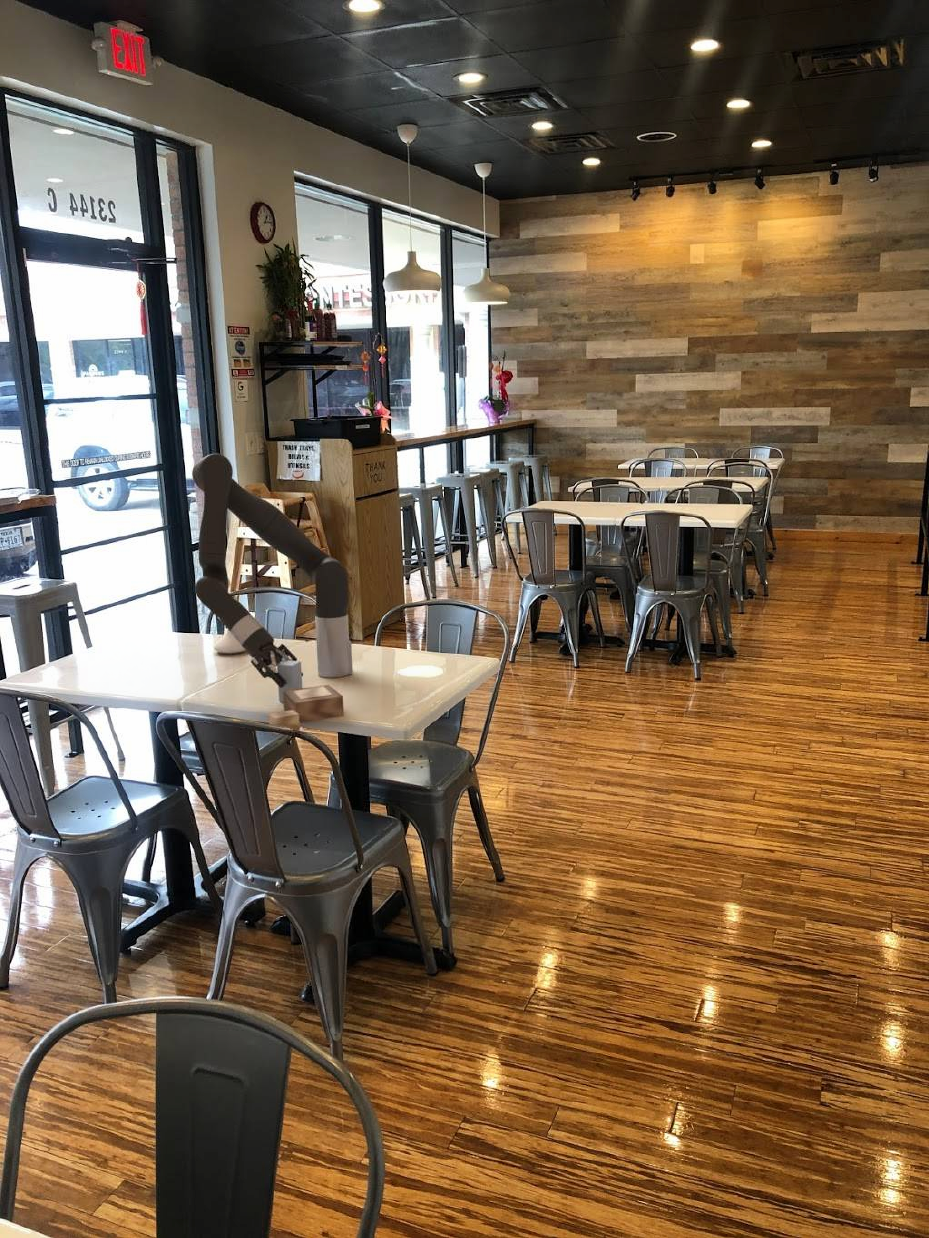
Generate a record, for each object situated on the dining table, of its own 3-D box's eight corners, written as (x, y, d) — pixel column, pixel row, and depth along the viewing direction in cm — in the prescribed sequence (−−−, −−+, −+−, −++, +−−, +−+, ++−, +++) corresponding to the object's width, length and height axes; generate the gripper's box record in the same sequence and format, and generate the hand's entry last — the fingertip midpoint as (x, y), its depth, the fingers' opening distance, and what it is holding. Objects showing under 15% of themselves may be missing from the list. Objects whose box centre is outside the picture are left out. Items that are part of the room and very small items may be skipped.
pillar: (288, 696, 278) (285, 660, 276) (303, 698, 276) (300, 661, 274) (279, 701, 274) (277, 664, 272) (294, 703, 272) (292, 665, 270)
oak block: (293, 725, 254) (292, 709, 253) (299, 730, 250) (298, 713, 249) (269, 730, 251) (268, 714, 250) (275, 734, 247) (274, 718, 246)
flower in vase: (253, 647, 335) (248, 569, 330) (248, 655, 324) (243, 575, 319) (212, 648, 335) (206, 571, 329) (205, 657, 323) (199, 577, 318)
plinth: (329, 703, 271) (328, 683, 270) (343, 715, 260) (342, 695, 259) (284, 709, 266) (282, 690, 265) (296, 722, 256) (295, 702, 255)
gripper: (245, 632, 267) (287, 679, 266) (274, 621, 280) (314, 665, 279) (229, 651, 270) (270, 697, 269) (258, 639, 283) (298, 683, 282)
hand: (292, 681), depth 274 cm, fingers open, 8 cm apart
